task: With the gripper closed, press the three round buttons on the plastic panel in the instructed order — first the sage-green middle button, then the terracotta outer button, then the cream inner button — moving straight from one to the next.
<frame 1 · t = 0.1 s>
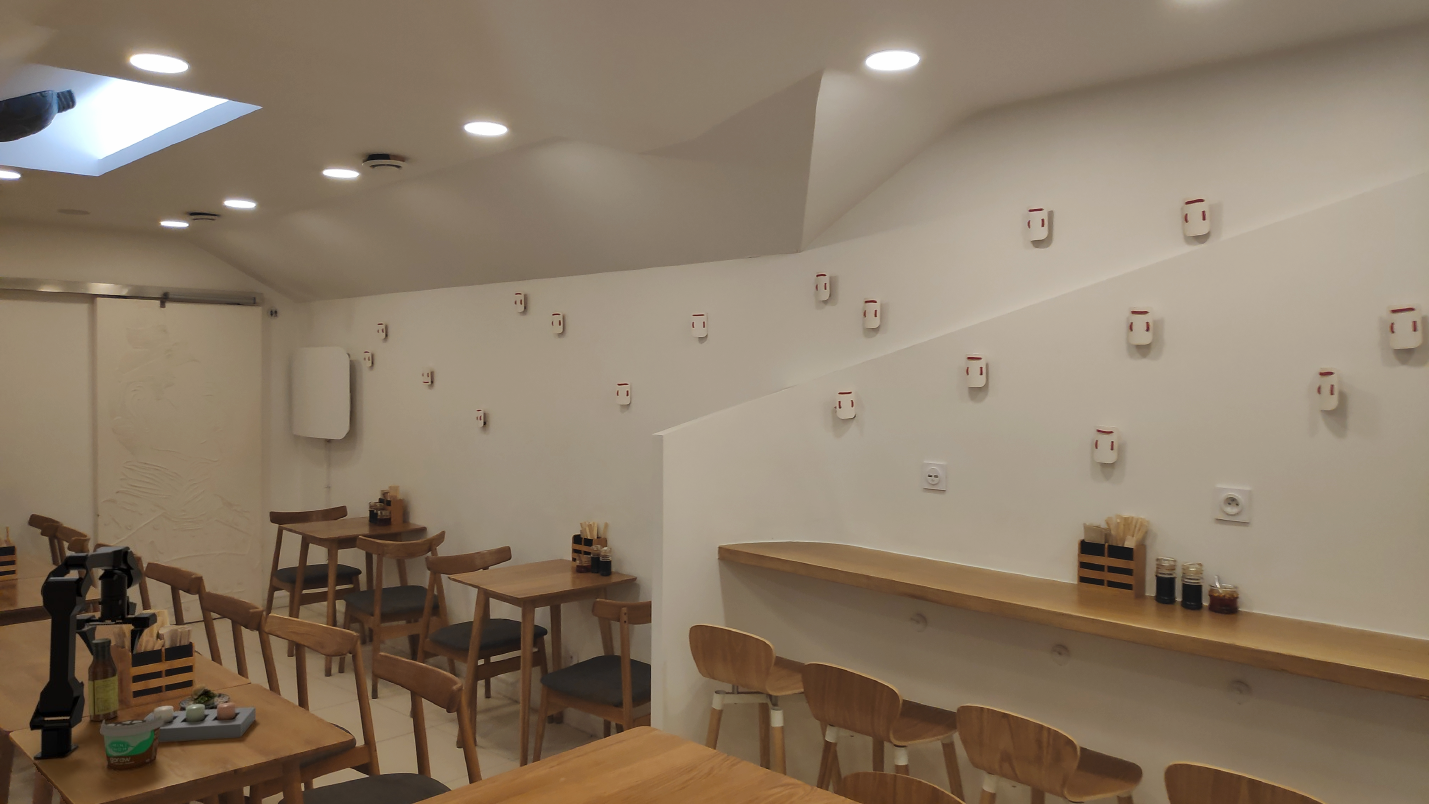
hand: (113, 654, 232), 15 cm above the table, fingers open, 9 cm apart
food container: (127, 767, 197), on the table
cream button: (163, 714, 217), point 4 cm above the table, slide at 0.0 cm
terracotta button: (226, 711, 220), point 4 cm above the table, slide at 0.0 cm
sauce bottle: (103, 718, 227), on the table
burger: (204, 707, 236), on the table
sage button: (195, 712, 218), point 4 cm above the table, slide at 0.0 cm
panel: (195, 731, 218), on the table
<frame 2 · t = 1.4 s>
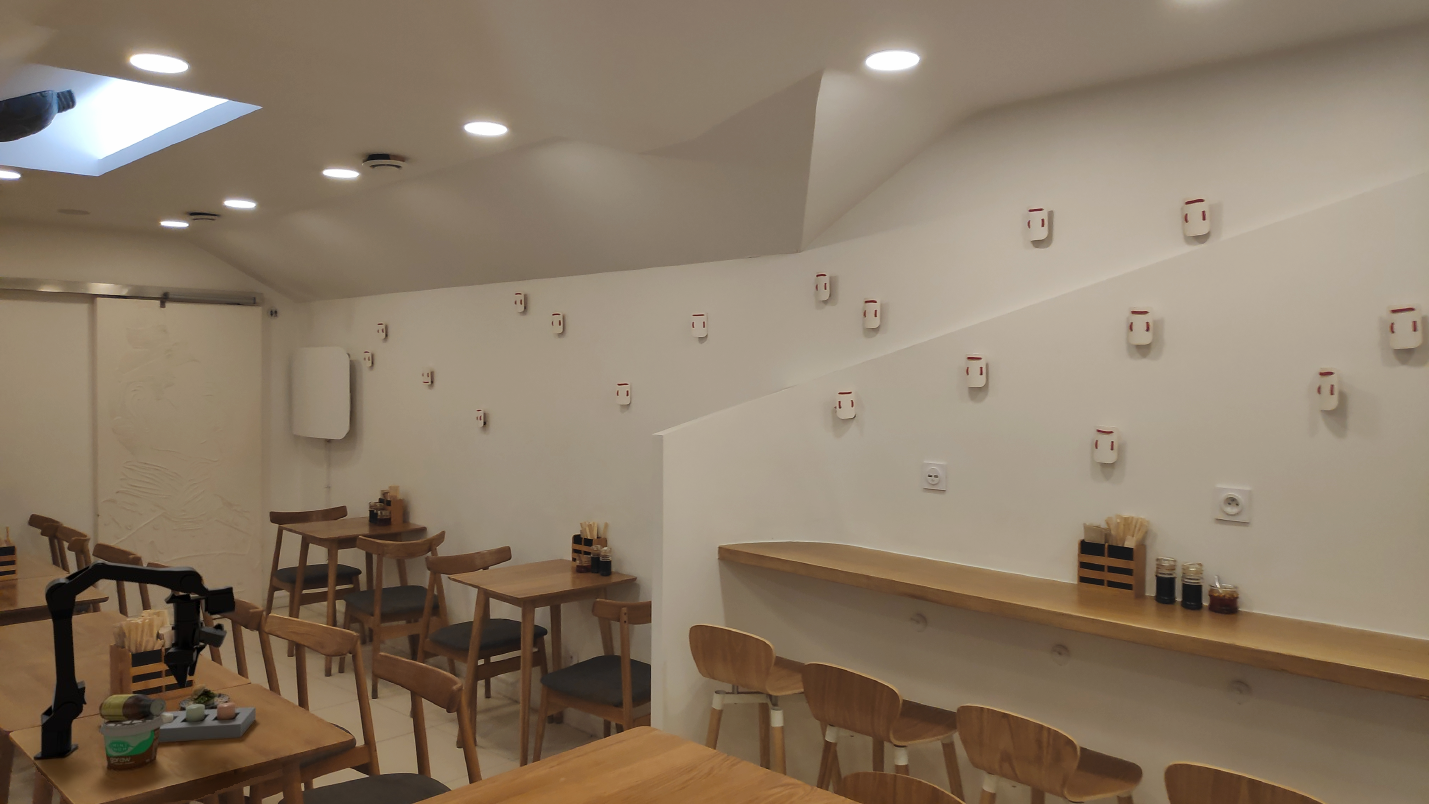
hand: (187, 681, 220), 12 cm above the table, fingers open, 9 cm apart
cream button: (163, 722, 217), point 3 cm above the table, slide at 1.9 cm, touching sauce bottle
sauce bottle: (109, 706, 226), point 3 cm above the table, touching cream button, panel
everything else where it was.
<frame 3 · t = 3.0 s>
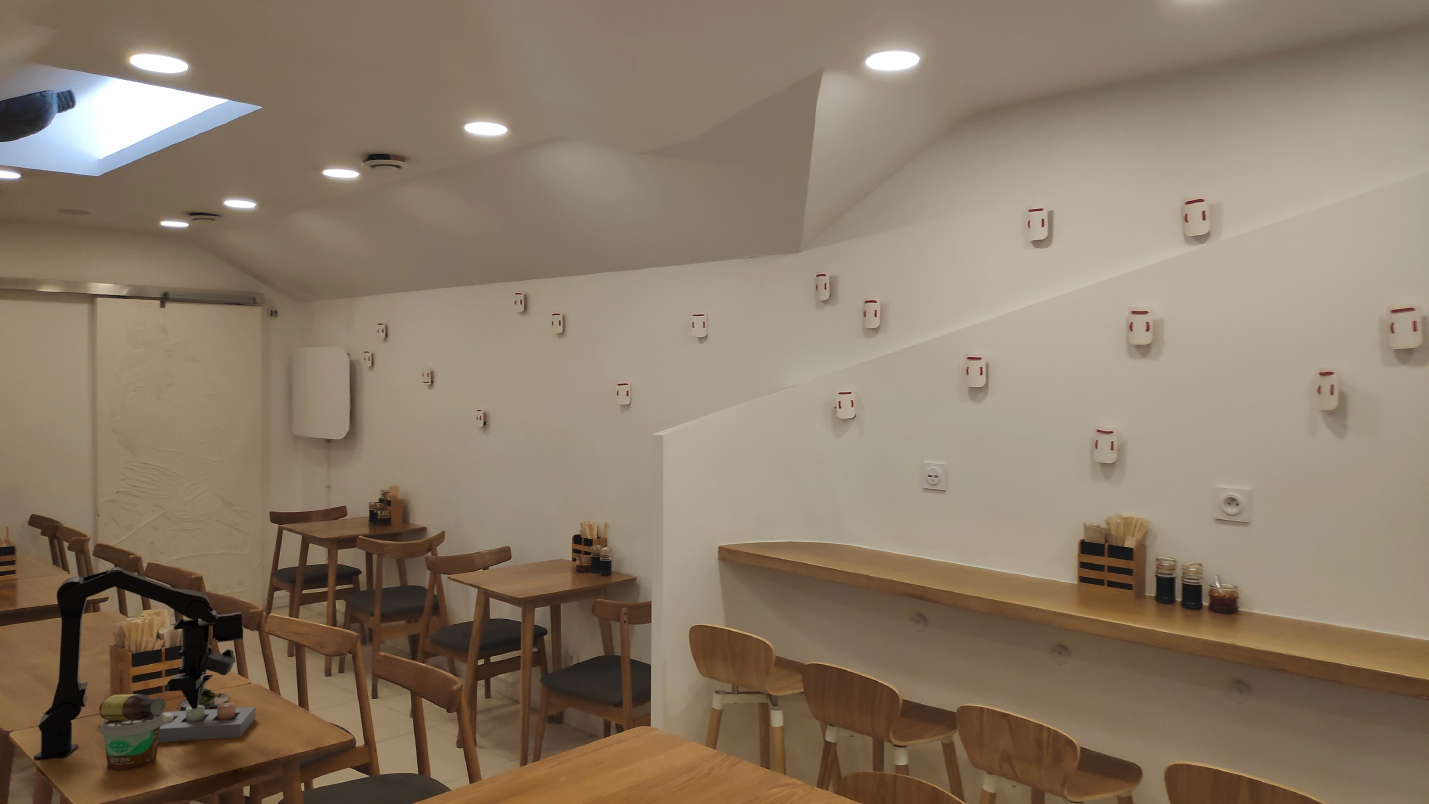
hand: (194, 708, 218), 6 cm above the table, fingers closed, pressing on sage button
sage button: (195, 714, 218), point 4 cm above the table, slide at 0.3 cm, touching gripper
everything else where it was.
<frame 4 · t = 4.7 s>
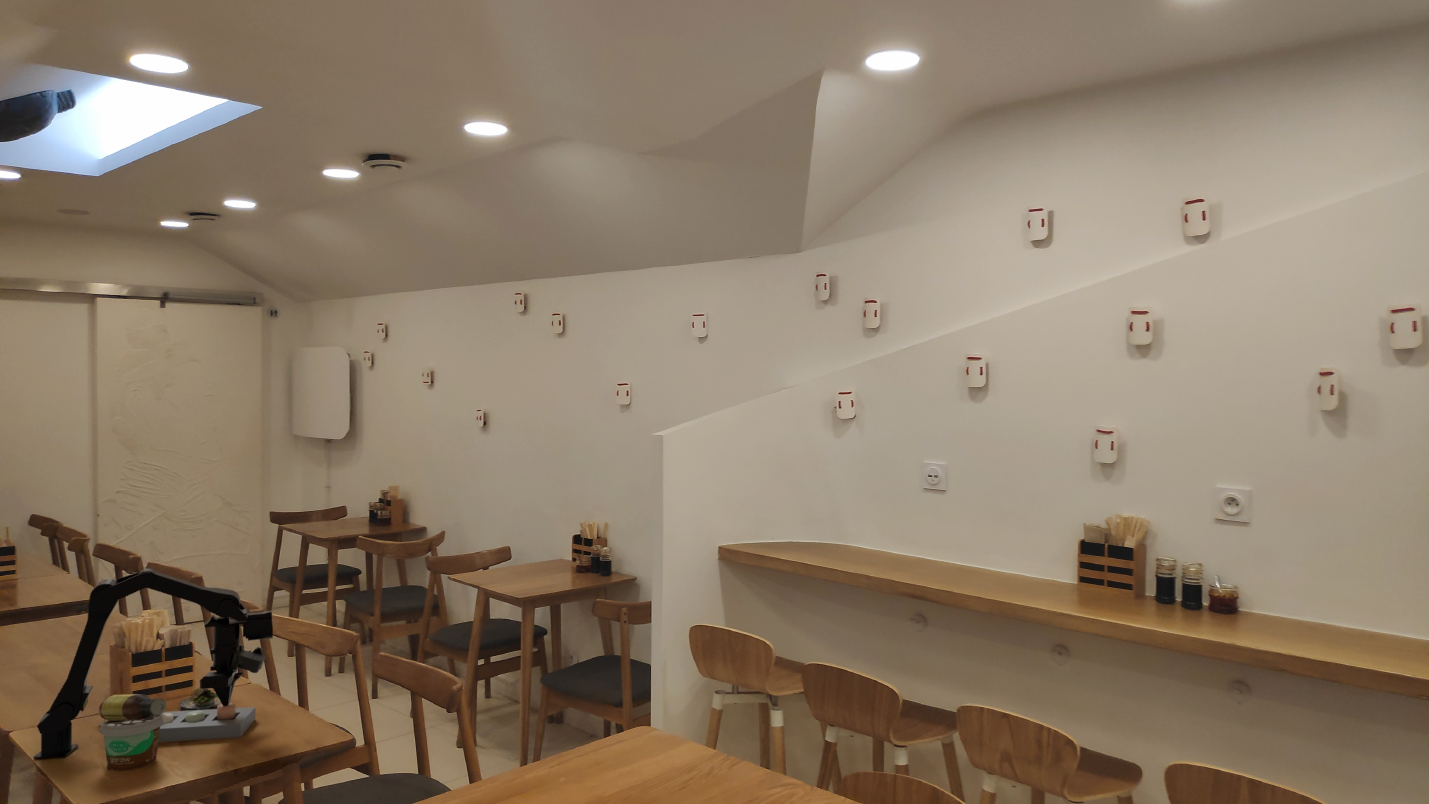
hand: (225, 705, 220), 6 cm above the table, fingers closed, pressing on terracotta button
terracotta button: (226, 711, 220), point 4 cm above the table, slide at 0.1 cm, touching gripper
sage button: (195, 719, 218), point 3 cm above the table, slide at 1.7 cm
everything else where it was.
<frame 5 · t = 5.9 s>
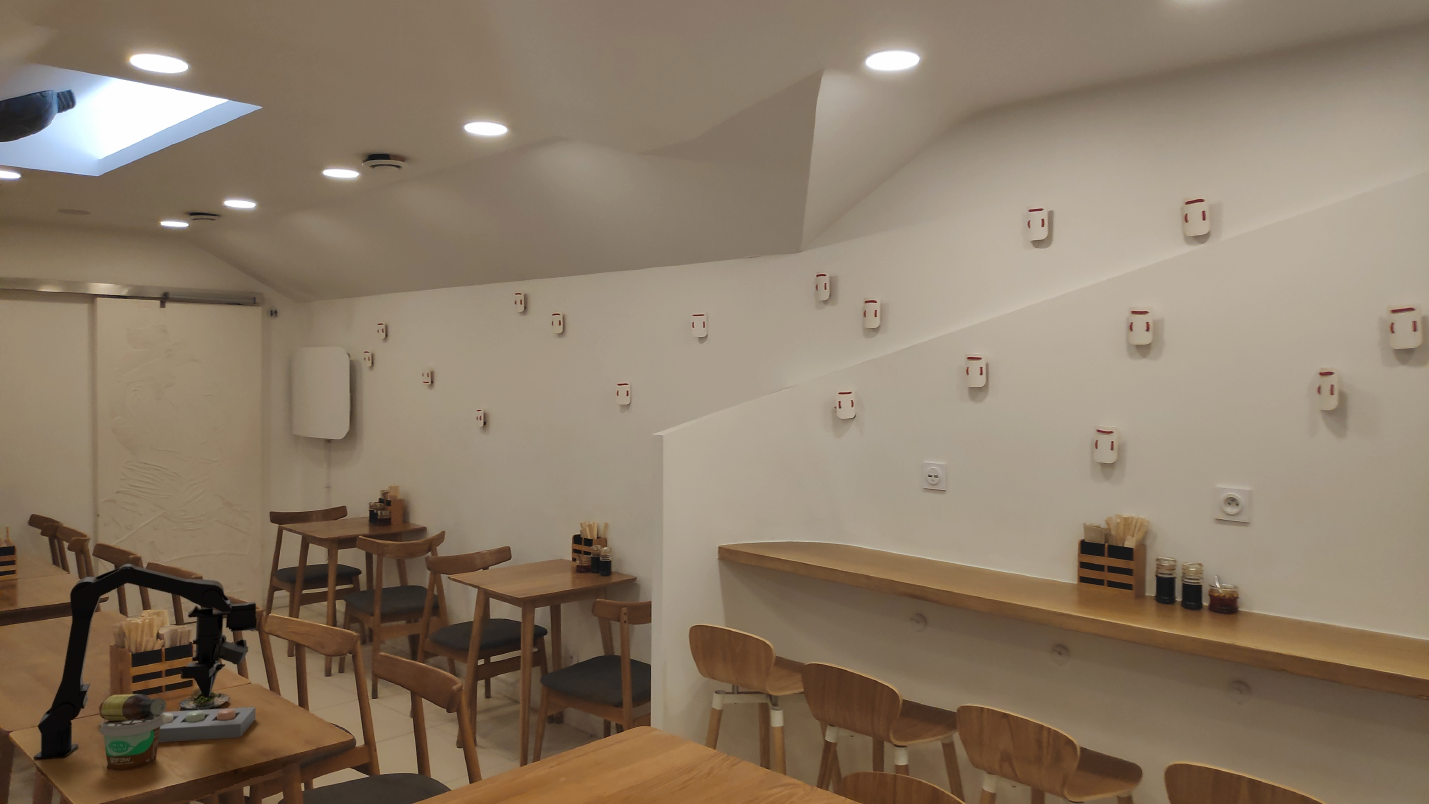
hand: (207, 696, 219), 8 cm above the table, fingers closed
terracotta button: (226, 717, 220), point 3 cm above the table, slide at 1.6 cm
everything else where it was.
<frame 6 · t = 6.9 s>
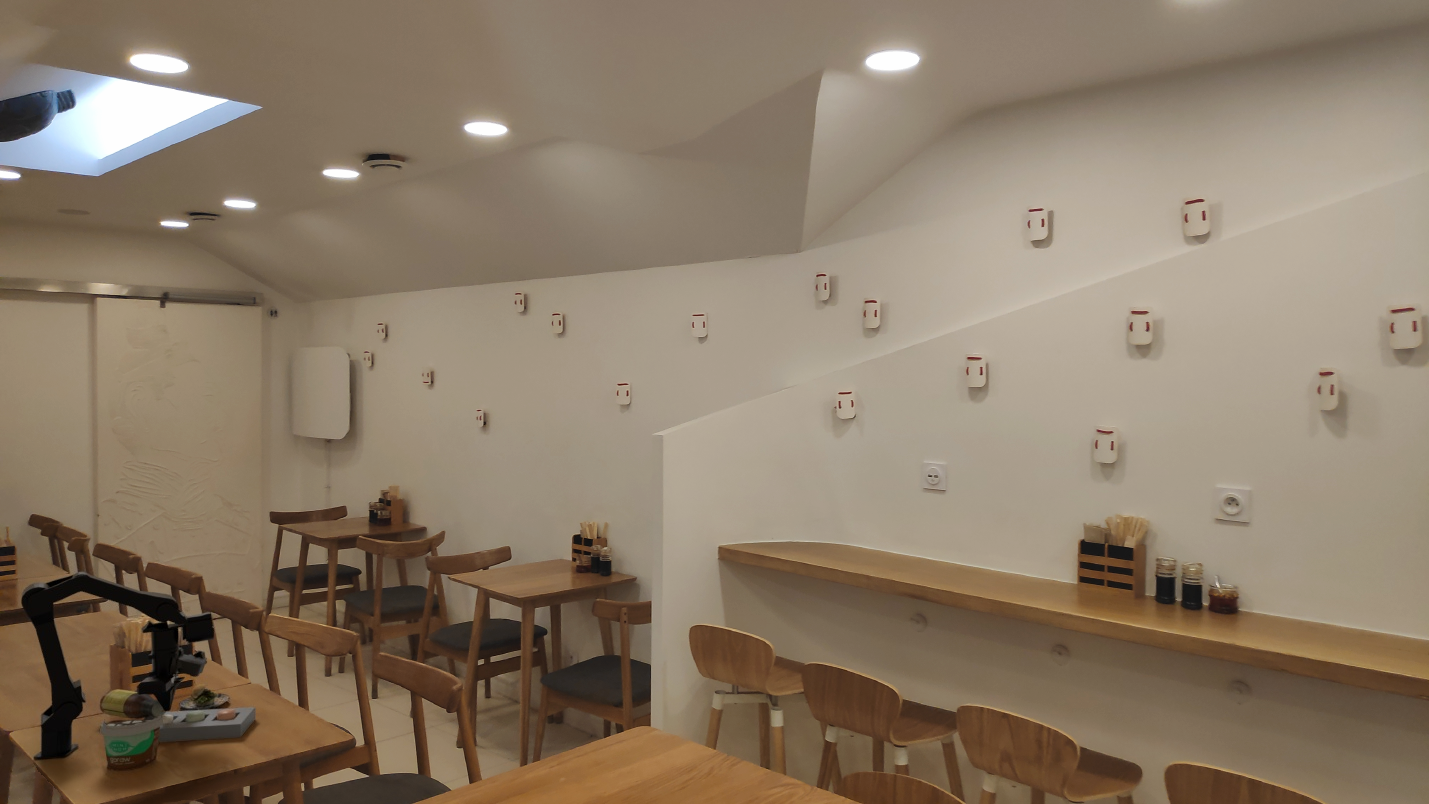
hand: (167, 710, 217), 5 cm above the table, fingers closed
cream button: (163, 723, 217), point 2 cm above the table, slide at 2.2 cm, touching panel, sauce bottle
sauce bottle: (109, 700, 226), point 5 cm above the table, touching cream button, gripper, panel
everything else where it was.
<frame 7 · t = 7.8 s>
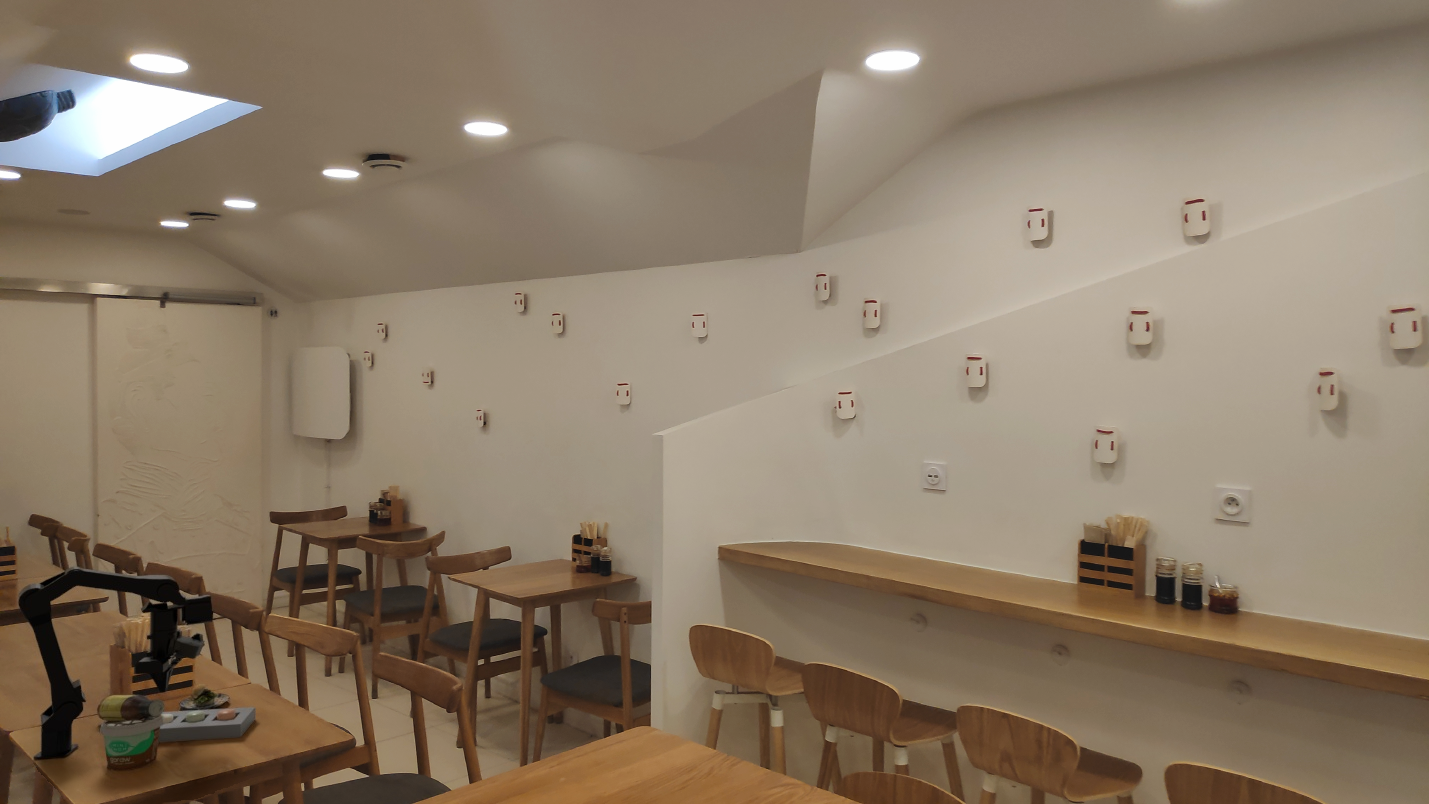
hand: (163, 691, 217), 10 cm above the table, fingers closed
cream button: (163, 722, 217), point 2 cm above the table, slide at 2.0 cm
sauce bottle: (107, 707, 225), point 3 cm above the table, touching panel
everything else where it was.
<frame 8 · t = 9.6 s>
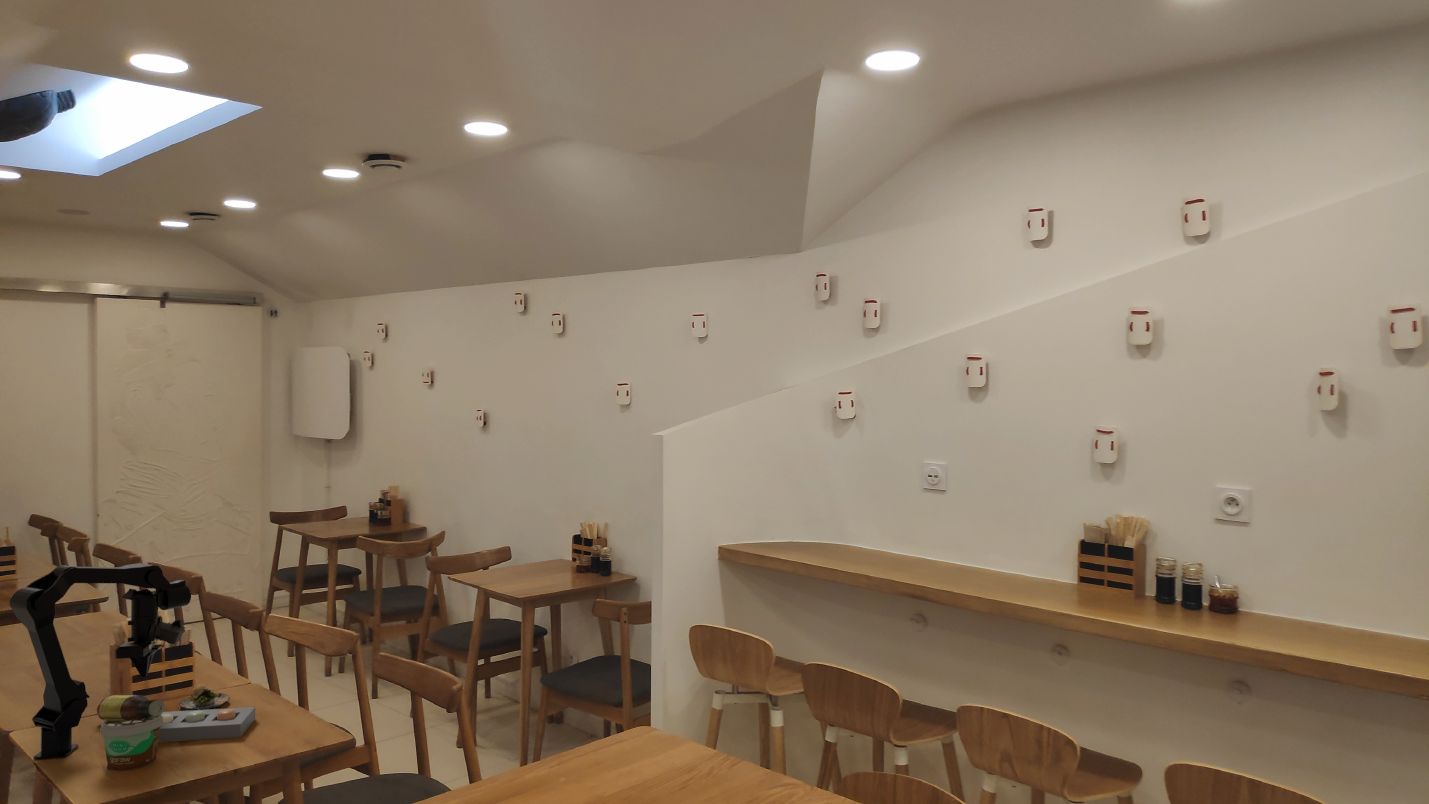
hand: (144, 676, 222), 12 cm above the table, fingers closed
nothing on the table moved.
at the end: sage button slide at 1.7 cm; terracotta button slide at 1.6 cm; cream button slide at 2.0 cm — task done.
